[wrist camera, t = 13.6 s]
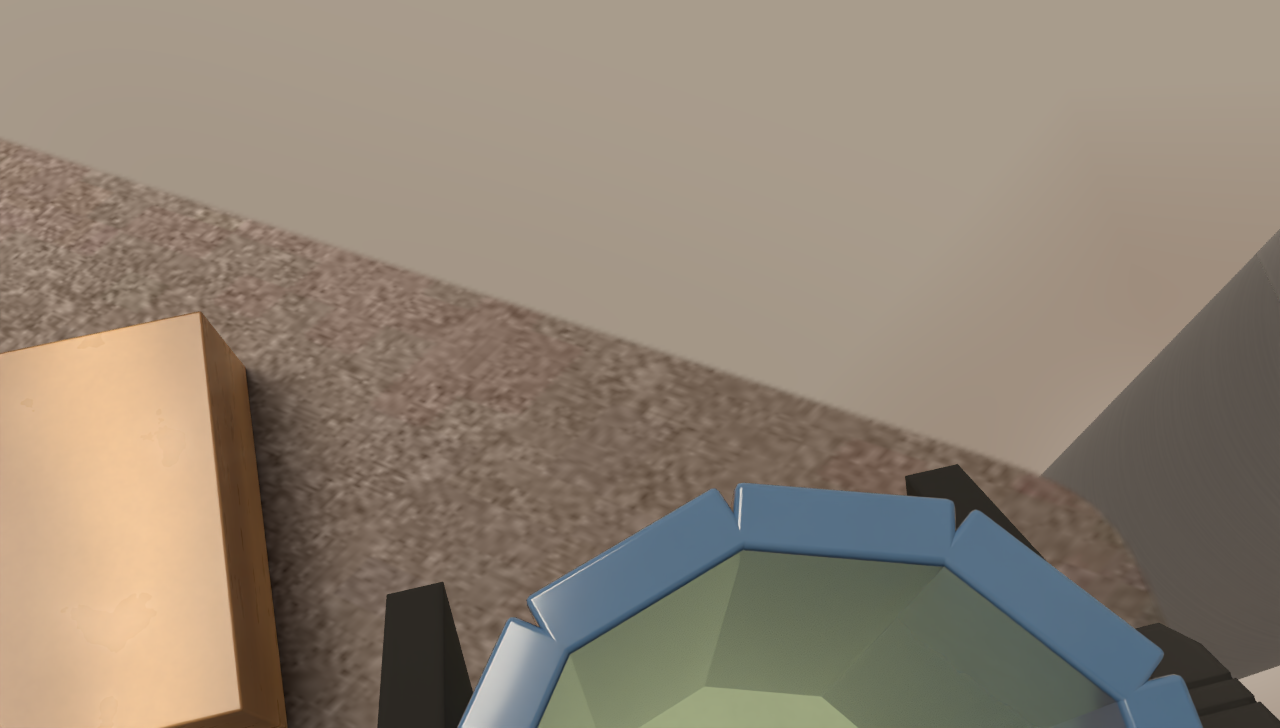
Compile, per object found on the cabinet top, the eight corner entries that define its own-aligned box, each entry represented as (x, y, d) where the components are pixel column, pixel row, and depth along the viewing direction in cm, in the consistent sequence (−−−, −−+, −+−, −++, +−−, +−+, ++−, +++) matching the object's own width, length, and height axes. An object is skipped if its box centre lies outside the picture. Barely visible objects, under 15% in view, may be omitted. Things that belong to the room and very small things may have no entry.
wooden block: (245, 366, 37) (201, 310, 33) (288, 729, 33) (243, 710, 29) (-123, 445, 36) (-211, 396, 32) (-128, 829, 32) (-229, 822, 28)
